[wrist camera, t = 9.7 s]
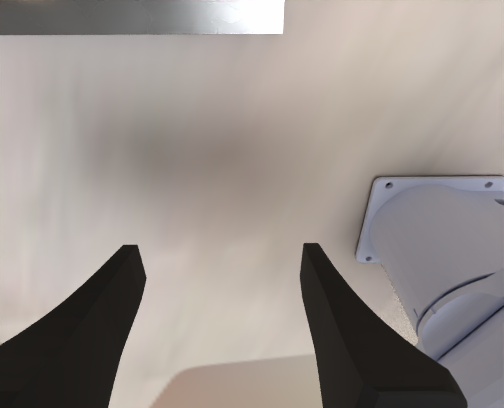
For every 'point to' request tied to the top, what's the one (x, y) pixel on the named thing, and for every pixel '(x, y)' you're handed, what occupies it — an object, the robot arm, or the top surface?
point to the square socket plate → (140, 17)
